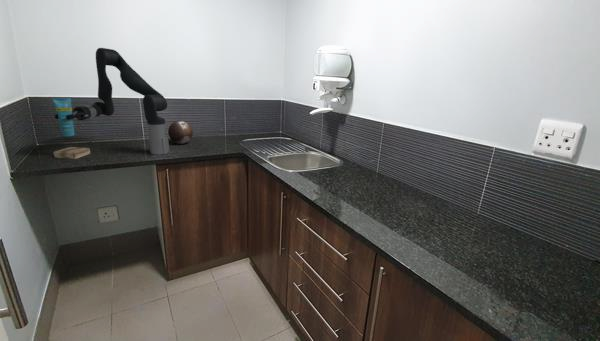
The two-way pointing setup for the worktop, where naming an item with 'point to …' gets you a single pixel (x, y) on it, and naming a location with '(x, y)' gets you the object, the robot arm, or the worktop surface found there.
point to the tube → (64, 115)
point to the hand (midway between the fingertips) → (61, 117)
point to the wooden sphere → (180, 132)
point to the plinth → (71, 152)
